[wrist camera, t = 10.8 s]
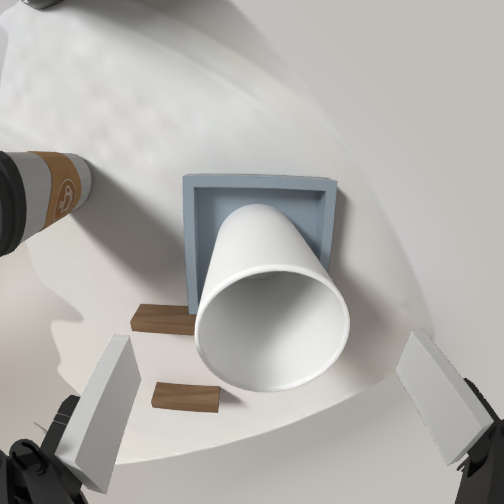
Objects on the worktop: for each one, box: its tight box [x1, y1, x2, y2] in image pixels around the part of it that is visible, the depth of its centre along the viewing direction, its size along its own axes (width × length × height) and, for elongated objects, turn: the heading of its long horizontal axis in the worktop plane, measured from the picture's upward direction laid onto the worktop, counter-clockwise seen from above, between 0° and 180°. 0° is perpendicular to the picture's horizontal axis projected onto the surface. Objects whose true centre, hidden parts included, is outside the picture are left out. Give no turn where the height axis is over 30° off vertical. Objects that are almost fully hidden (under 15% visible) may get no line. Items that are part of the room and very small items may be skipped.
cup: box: [195, 204, 350, 392], centre depth 22 cm, size 8×8×16 cm
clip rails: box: [130, 304, 219, 413], centre depth 32 cm, size 14×9×4 cm, turn 178°
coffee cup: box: [0, 151, 92, 257], centre depth 19 cm, size 8×8×15 cm
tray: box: [183, 174, 337, 314], centre depth 28 cm, size 14×14×3 cm
